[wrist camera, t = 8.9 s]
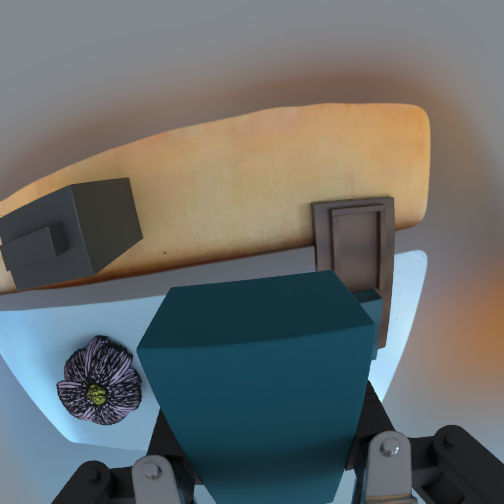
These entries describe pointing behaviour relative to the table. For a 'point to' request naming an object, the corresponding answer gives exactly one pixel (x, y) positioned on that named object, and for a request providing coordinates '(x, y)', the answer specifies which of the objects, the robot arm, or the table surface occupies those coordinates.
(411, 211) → the table surface
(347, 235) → the brown flat rectangular board
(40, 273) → the pad stand
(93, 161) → the table surface
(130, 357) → the decorative flower
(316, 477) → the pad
